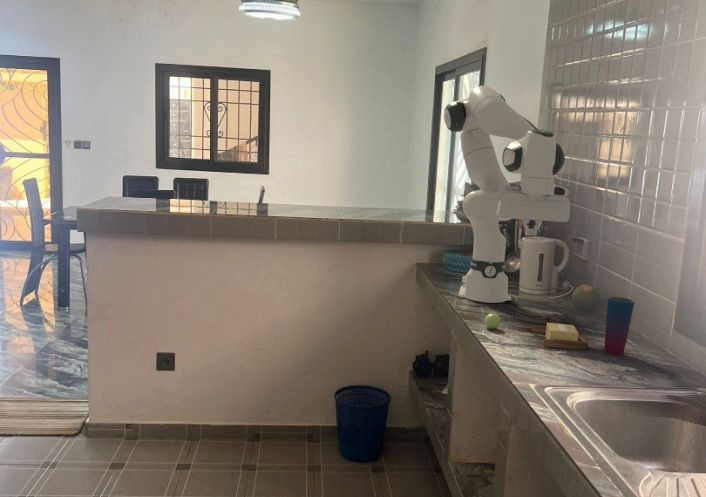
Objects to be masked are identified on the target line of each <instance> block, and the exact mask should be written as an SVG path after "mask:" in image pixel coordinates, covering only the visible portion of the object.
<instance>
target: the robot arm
mask: <svg viewBox="0 0 706 497" xmlns="http://www.w3.org/2000/svg"><path fill="white" fill-rule="evenodd" d="M443 119H444V123H445V125H446V128H447V129H448V130H449V131H450V132H452V133H453V132H454V133H460V147H461V152H462V156H463V160H464V163H465V167H466V171H467V175H468V178H469V180H470V181H471V182H473V184H475V185H476V186H477V187H478V188H479V189H476V190H473V191H470V192H468V193H467V194H466V195H465V196H464V198H463V200H462V212H463V214H464V215H465V217H466V218H467V219H468V220H469V222H470V224H471V227H472V231H473V249H472V250H473V252H472V257H471V260H470V265H469V266H470V268H469V271H468V272H467V273H466V275H463V276H461V277H462V279H461V283H463V284H462V285H461V286H460V288H459V292H458V298H463V299H467V300H470V301H475V302H479V303H489V304H490V303H491V304H492V303H493V304H494V303H495V304H496V303H497V304H498V303H503V302H507V301H509V302H510V301H512V297H511V296H510V295H508V284H509V277H508V276H507V275H506V273H505V270H506V260H505V258H506V247H507V239H506V237H505V236H504V234H503V233H501V230H500V224H499V222H501V221H509V220H522V225H523V227H524V229H525V231H524V232H525V233H524V234H525V236H531V237H536V236H537V234H538V230H539V229H540V227H541V226H542V224H543V222H545V221H546V222H557V223H558V222H559V223H567V222H568V221H569V220H570V216H571V201H570V199H569V197H568V196H569V194H570V193H569V189H568V188H566V187H563V186H561V185H559V184H558V183H554V176H556V175H557V174H558V173H559V172H560V171H561V170H562V168H563V167H564V165H565V160H566V158H565V157H566V156H565V153H564V150H563V148H562V146H561V145H560V144H559V143H558V142H556V140H557V139H556V135H555V134H554V132H551V131H549V130H545V129H544V130H543V129H538V128H537V127H536V126H535V125H534V124H533V123H532V122H531V121H530V120H529V119H527V118H525V117H524V116H522V114H520V113H518V112H517V111H516V110H515V109H513V108H512V107H511V106H510V105H509V104H508V103H507V100H506V99H505V97H504V96H503V95H502V94H500V93H498V92H497V91H496V90H495V89H493V88H492V87H491V86H488V85H479V86H476V87H475V88H473V89H472V90H471V91H470V93H469V94H468V98H464V99H460V100H454V101H452V102H450V103H448V104H447V105H446V106H445V108H444V111H443ZM491 136H496V137H502V138H508V139H511V140H514V141H510V142H509V143H508V144H507V145H506V146H505V147H504V149H503V152H502V159H501V160H502V161H501V162H502V164H503V167H504V169H505V170H506V171H507V172H509V173H512V174H520V183H519V186H518V185H516V186H513V185H512V186H511V184H510V182H509V180H507V179H506V176H505V175H504V173H503V171H502V169H501V166H500V164H499V161H498V160H499V159H498V157H497V154H496V151H495V147H494V145H493V141H492V139H491ZM530 220H531V221H534V223H535V224H536V225H535V226H534V227H533V228H529V226H528V224H529V223H530Z"/></svg>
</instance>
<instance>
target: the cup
mask: <svg viewBox="0 0 706 497" xmlns="http://www.w3.org/2000/svg"><path fill="white" fill-rule="evenodd" d="M606 302H607V306H606V317H605V318H606V319H605V320H606V321H605V331H604V332H605V333H604V334H605V335H604V336H605V337H604V346H603V347H604V348H603V349H604V352H605V353H606V354H609V355H614V356H623V355H624V354H625V350H626V345H627V340H628V336H629V335H628V334H629V330H630V325H631V321H632V316H633V312H634V306H635V303H636V301H635V299H631V298H627V297H623V296H608V297H607V301H606Z"/></svg>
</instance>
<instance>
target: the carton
mask: <svg viewBox="0 0 706 497" xmlns="http://www.w3.org/2000/svg"><path fill="white" fill-rule="evenodd" d="M578 333H579V332H578V330H577V329H576V327H575V325H573V324H566V323H565V324H563V323H555V322H546V333H545V339H553V340H567V341H578Z"/></svg>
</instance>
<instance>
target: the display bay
mask: <svg viewBox="0 0 706 497" xmlns="http://www.w3.org/2000/svg"><path fill="white" fill-rule="evenodd" d="M546 326H547V325H546ZM546 326H545V325H534V324H533V325H531V329H530V330H531V333H537V334H538V333H539V334H546ZM589 344H590V342H588V341H587V340H586V339H585V338H584V337H583V336H582V335H581V334H580V333H579V332H578V341H567V340H553V339H546V338H543V339H542V346H543V347H548V348H560V349H563V348H564V349H576V350H577V349H578V350H589Z"/></svg>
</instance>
